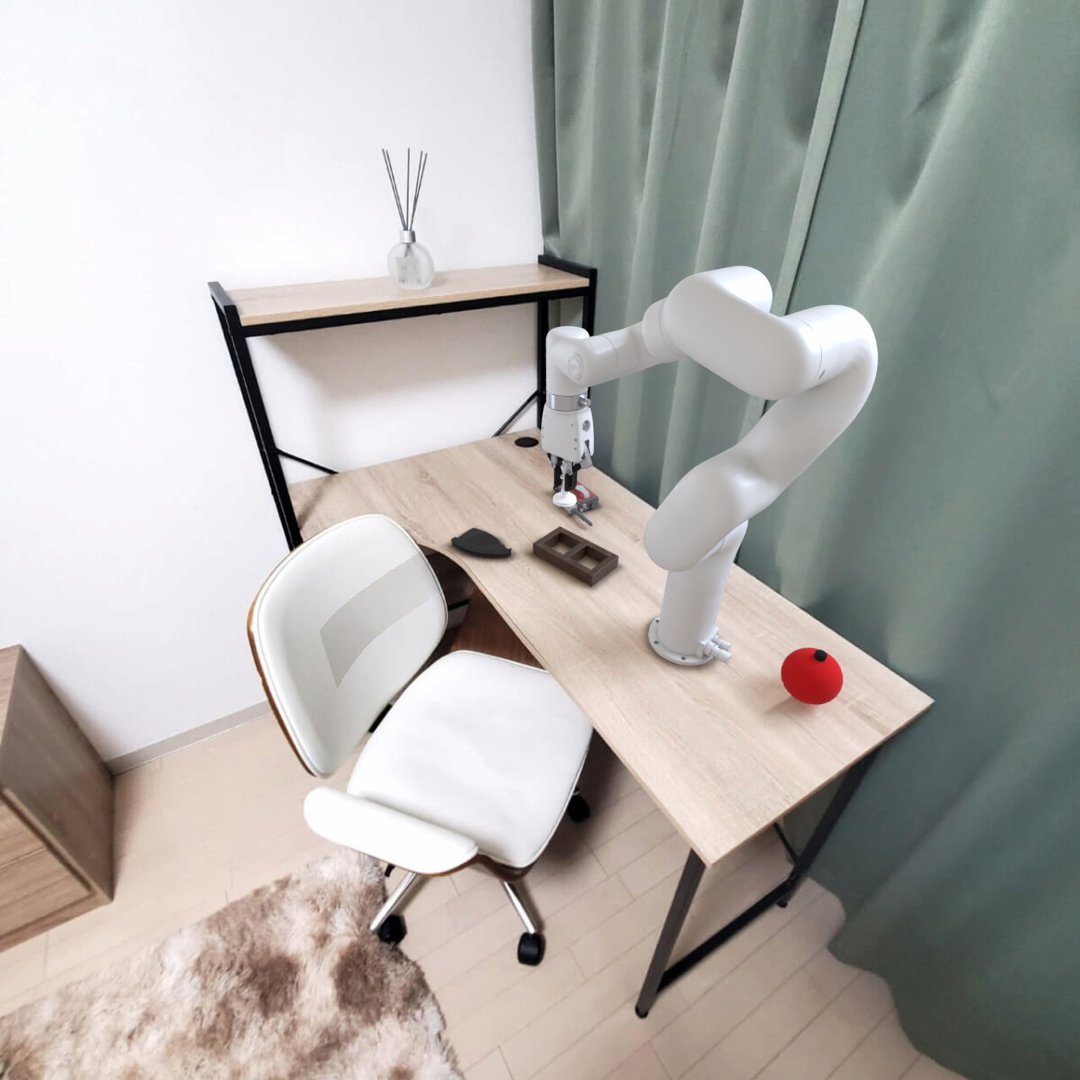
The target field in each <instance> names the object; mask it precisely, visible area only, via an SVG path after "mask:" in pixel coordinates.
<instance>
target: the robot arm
mask: <svg viewBox="0 0 1080 1080" xmlns="http://www.w3.org/2000/svg"><path fill="white" fill-rule="evenodd" d="M773 297H774V296H773V289H772V286H771V283H770V281H769V279H768V278H767V276H766V275H765V274H763V272H761V271H760V270H758V269H756V268H754V267H752V266H748V265H733V266H728V267H722V268H717V269H711V270H706V271H701V272H696V273H694V274H691V275H688V276H686V277H685V278H684V279H682V280H680V281H679V282H678V283H677V284H676V285H675V286H674V287H673V288H672V289H671V290H670V292H669V293H668V295H667V296H666V297H664V298H662V299H660V300H657V301H655V302H654V303H652V304H650V306H649V307H647V309H646V311H645V312H644V315H643V317H642V320H641V321H639V322H636V323H634V324H632V325H630V326H627V327H624V328H621V329H617V330H613V331H608V332H605V333H601V334H597V335H592V336H590V334H589V332H588V331H587V330H586V329H585V328H582V327H579V326H575V325H565V326H558V327H554V328H551V329H550V330H549V331H548V333H547V335H546V338H545V350H546V351H545V359H546V360H545V365H546V366H545V368H546V370H545V372H546V373H545V375H546V376H545V377H546V378H545V381H546V383H545V384H546V386H545V390H546V391H545V392H546V397H545V398H546V399H545V400H546V401H545V403H544V406H543V412H542V418H541V431H540V433H541V434H540V440H541V442H540V443H541V446H540V451H542V452H543V453H544V454H545V455H546V457H547V458H548V460H549V462H550V467H551V469H553V486H555V487H558V486H560V485H562V483H563V479H561V478H560V476H561V475H562V474H563V473H562V469H561V465H562V464H563V463H562V461H564V459H566V460H567V473H566V474H565V479H564V490H565V491H566V492H568V491H570V490H572V489H574V488H575V487H576V486H577V481H578V472H579V471H580V470H585V469H586V470H587V469H589V468H592V466H593V461H592V458H591V457H592V456H593V455H594V451H595V450H594V449H595V447H594V445H595V444H594V443H595V434H594V421H593V414H592V409H591V407H590V406H591V405H592V400H591V399H590V398H588V395H589V394H588V391H589V387H590V388H591V387H595V386H598V385H601V384H605V383H608V382H610V381H613V380H616V379H620V378H623V377H626V376H630V375H633V374H636V373H638V372H641V371H644V370H646V369H649V368H653V367H655V366H658V365H660V364H671V363H674V362H677V361H679V360H683V359H685V358H690V359H692V360H693V361H695V362H696V363H698V364H699V365H701V366H702V367H704V368H706V369H708V370H709V371H711V372H712V373H714V374H716V375H717V376H719V377H720V378H721V379H723V380H725V381H727V382H728V383H730V384H731V385H733V386H734V387H736V388H738V389H739V390H741V391H743V392H744V393H746V394H748V395H750V396H753V397H755V398H758V399H761V400H765V401H766V400H767V401H776V402H774V404H773V405H772V406H771V407H770V408H768V409H767V410H766V412H765V413H764V414H763V415H762V416H761V417H760V419H759V421H758V422H756V424H755V425H754V426H753V427H752V428H751V429H750V430H749V432H748V433H747V434H746V435H745V436H744V437H743V438H741V440H740V441H738V442H737V443H736V444H735V445H733V446H731V447H730V448H727V449H725V450H724V451H722V452H720V453H718V454H715V455H714V456H712V457H710V458H708V459H706V460H705V461H702V462H700V463H699V464H697V465H696V466H694V467H693V468H692V469H690V470H689V471H687V473H686V474H685V475H684V476H683V477H681V479H679V481H678V482H677V483H676V485H675V486H674V487H673V488H672V490H671V491H670V492H669V493H668V494H667V496H666V497H665V498H664V500H663V501H662V502H661V503H660V504H659V506H658V507H657V508H656V510H654V512H653V513H652V515H651V516H650V517H649V519H648V521H647V523H646V525H645V529H644V533H643V542H644V543H643V544H644V548H645V551H646V554H647V555H648V557H649V559H650V560H651V561H652V562H653V563H654V564H655V566H658V568H660V569H662V570H665V571H667V576H666V581H665V587H664V591H663V592H664V593H663V598H662V603H661V609H660V614H659V616H656V618H654V619H653V620H652V622H651V624H650V625H649V627H648V628H649V629H648V634H647V637H648V641H649V644H650V646H651V648H652V649H653V650H654V652H655V653H657V655H659V656H660V657H662V658H663V659H665V660H667V661H669V662H670V663H673V664H675V665H676V664H677V665H679V666H687V667H688V666H689V667H692V666H701V665H704V664H706V663H708V662H710V661H711V660H712V659H714V658H716V660H718V661H719V662H722V663H723V664H725V665H728V664H729V663H730V661H731V660H732V657H733V654H731V652H729V651H730V649H731V648H732V644H731V643H729V642H727V641H726V640H723V639H721V638H720V636H719V631H720V627H718V626H717V625H716V622H717V619H718V615H719V610H720V607H721V603H722V601H723V597H724V593H725V588H726V586H727V583H728V579H729V577H730V576H729V575H730V573H731V568H732V566H733V563H734V560H735V558H736V555H737V553H738V551H739V549H740V546H741V544H742V542H743V540H744V538H745V536H746V533H747V529H748V526H749V520H750V519H751V518H753V517H755V516H756V515H758V514H759V513H760V512H762V511H764V510H765V509H766V508H768V507H769V506H771V505H772V504H773V503H774V501H775V500H777V499H778V497H779V496H780V495H781V494H782V493H783V492H784V491H785V490H786V489H787V488H788V487H789V486H790V485H791V484H792V483H793V482H794V481H795V480H796V479H797V478H798V477H799V476H800V475H801V474H803V473H804V472H805V471H806V470H807V469H808V468H809V467H810V466H811V465H812V464H813V463H814V462H815V461H816V460H817V459H818V457H820V456H821V454H822V453H823V452H825V451H826V450H827V448H829V446H831V445H832V444H833V443H834V442H835V441H836V440H837V439H838V438H840V437H839V436H841V434H843V433H844V432H845V431H846V429H847V428H848V427H849V426H850V425H851V424H852V422H853V421H854V420H855V419H856V417H857V416H858V414H859V413H860V412H861V410H862V409H863V407H864V406H865V404H866V402H867V400H868V398H869V396H870V394H871V392H872V390H873V387H874V384H875V380H876V377H877V372H878V365H879V352H878V345H877V344H878V343H877V339H876V336H875V333H874V330H873V328H872V326H871V324H870V323H869V321H868V320H867V319H866V317H865V316H864V315H863V314H862V313H860V312H859V311H857V310H856V309H854V308H852V307H850V306H845V305H841V304H825V305H824V304H823V305H816V306H813V307H810V308H806V309H802V310H799V311H796V312H793V313H790V314H786V315H782V316H777V315H775V314H773V313H771V309H772V304H773ZM719 647H720V648H719Z"/></svg>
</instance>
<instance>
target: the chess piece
mask: <svg viewBox="0 0 1080 1080" xmlns="http://www.w3.org/2000/svg"><path fill="white" fill-rule="evenodd" d="M562 463H563V464H562V465H561V469H562V473H563V474H562V475H561V476H560V478H561V479H563V483H562V489H561V492H559V493H556V492H555V494H554V495H553V496H552V503H553V504H554V505H556V506H558V507H562V508H564V507H569V506H572V505H574V504H575V503H576V496H575V495H574V494H572V493H570V492H569V491H568V492H566V491H565V490H564V479H565V474H566V473H567V460H566V459H564V461H562Z"/></svg>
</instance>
